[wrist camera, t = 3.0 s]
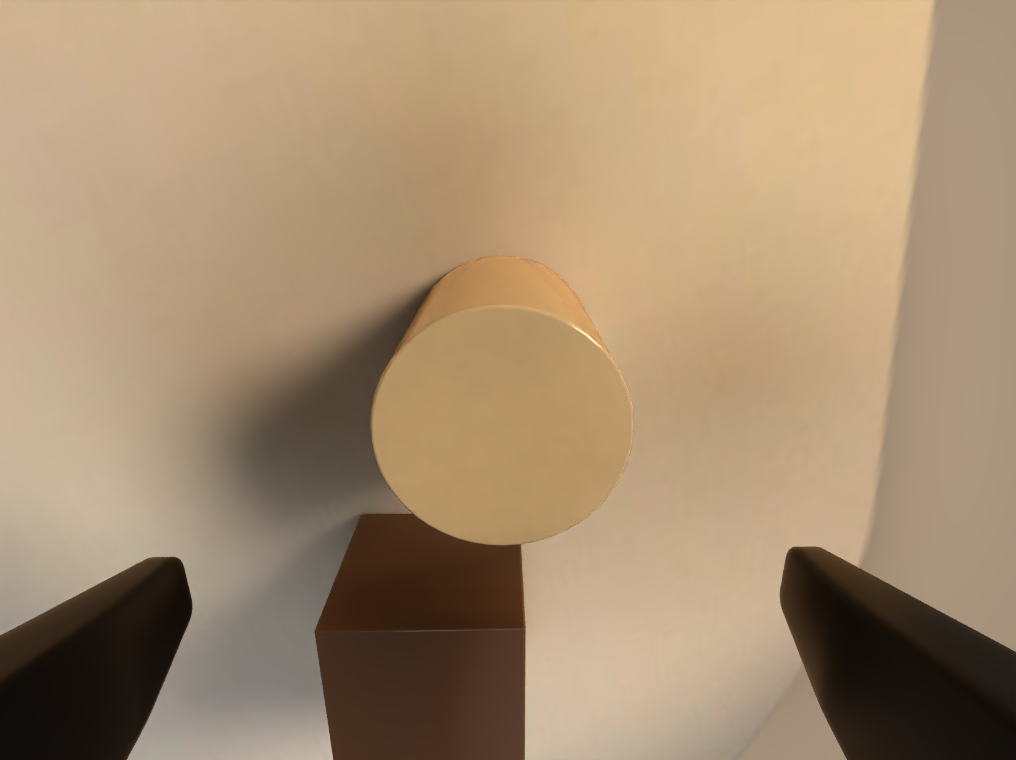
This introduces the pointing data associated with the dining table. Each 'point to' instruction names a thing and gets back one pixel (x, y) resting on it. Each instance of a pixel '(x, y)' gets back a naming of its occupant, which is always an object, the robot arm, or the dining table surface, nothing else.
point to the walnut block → (424, 646)
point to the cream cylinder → (502, 407)
